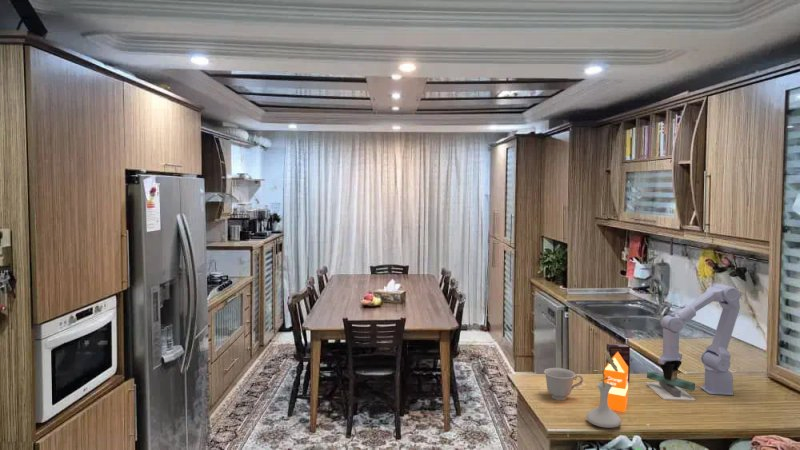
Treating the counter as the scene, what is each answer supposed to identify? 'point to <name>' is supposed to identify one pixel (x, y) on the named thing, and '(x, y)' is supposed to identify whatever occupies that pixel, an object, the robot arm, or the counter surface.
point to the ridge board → (667, 395)
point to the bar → (673, 381)
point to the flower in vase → (604, 404)
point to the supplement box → (622, 350)
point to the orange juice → (617, 384)
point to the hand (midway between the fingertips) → (669, 378)
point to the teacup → (561, 382)
